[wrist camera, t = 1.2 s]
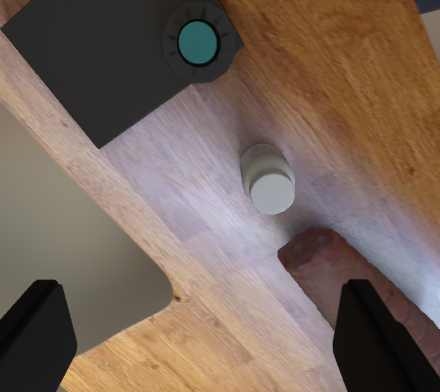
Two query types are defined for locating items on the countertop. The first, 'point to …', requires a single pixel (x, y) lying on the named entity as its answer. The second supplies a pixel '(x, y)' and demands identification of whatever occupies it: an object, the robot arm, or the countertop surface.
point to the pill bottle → (267, 179)
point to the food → (340, 274)
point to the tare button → (197, 42)
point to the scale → (117, 55)
